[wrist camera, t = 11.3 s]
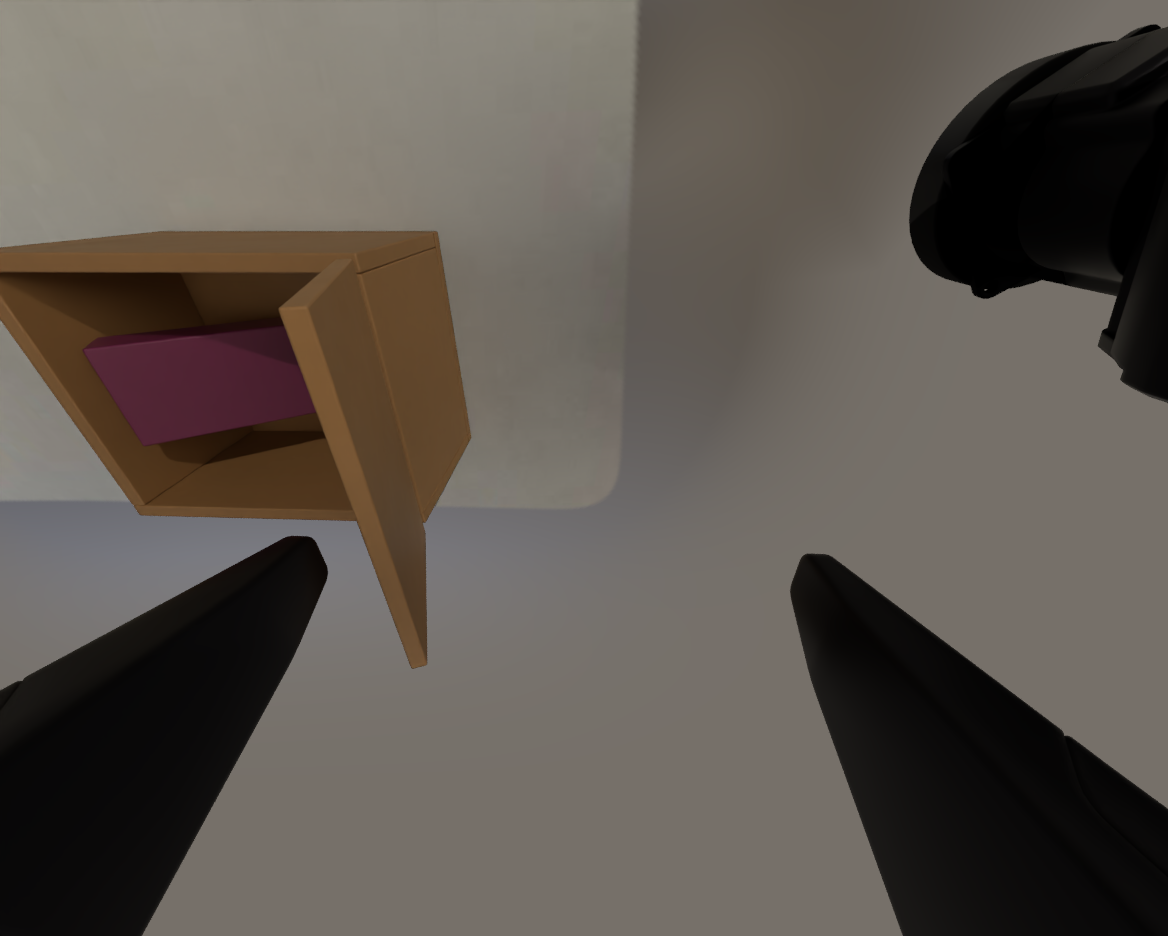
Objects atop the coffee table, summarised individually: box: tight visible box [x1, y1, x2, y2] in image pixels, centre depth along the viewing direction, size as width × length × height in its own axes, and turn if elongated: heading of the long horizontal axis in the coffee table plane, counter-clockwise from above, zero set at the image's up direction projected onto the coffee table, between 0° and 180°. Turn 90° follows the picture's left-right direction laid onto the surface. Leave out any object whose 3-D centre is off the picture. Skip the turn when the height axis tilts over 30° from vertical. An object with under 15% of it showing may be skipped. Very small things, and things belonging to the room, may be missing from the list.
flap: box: [279, 259, 427, 669], centre depth 11 cm, size 5×9×1 cm
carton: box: [0, 231, 471, 523], centre depth 17 cm, size 11×9×6 cm
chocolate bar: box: [82, 317, 316, 446], centre depth 17 cm, size 4×8×2 cm
